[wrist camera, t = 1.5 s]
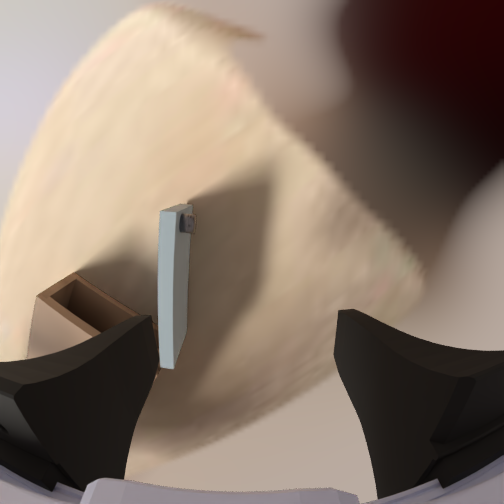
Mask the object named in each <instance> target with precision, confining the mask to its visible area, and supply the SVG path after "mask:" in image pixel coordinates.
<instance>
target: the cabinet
mask: <svg viewBox="0 0 504 504" xmlns="http://www.w3.org/2000/svg"><path fill="white" fill-rule="evenodd" d="M136 315H139V314H138V313H136V312H134V311H133V310H131V309H129V308H128V307H126V306H124V305H123V304H121V303H120V302H118V301H116V300H115V299H113V298H112V297H110V296H109V295H107V294H106V293H104V292H102V291H101V290H99V289H98V288H96V287H95V286H93V285H92V284H90V283H89V282H87V281H86V280H85V279H83V278H82V277H80V276H79V275H77V274H76V273H72V274H70V275H69V276H67V277H65V278H64V279H62V280H60V281H59V282H57V283H56V284H54V285H52V286H51V287H49V288H48V289H46V290H45V291H43V292H41V293H40V294H38V295H37V296H36V300H35V305H34V311H33V317H32V323H31V329H30V337H29V345H28V354H27V359H31V358H36V357H40V356H44V355H48V354H52V353H55V352H59V351H62V350H64V349H67V348H70V347H72V346H75V345H77V344H80V343H82V342H84V341H86V340H88V339H90V338H92V337H94V336H96V335H98V334H100V333H102V332H104V331H106V330H108V329H110V328H112V327H113V326H115V325H117V324H119V323H121V322H123V321H125V320H127V319H129V318H131V317H133V316H136ZM152 324H153V329H154V334H155V339H156V344H157V349H158V353H159V331H158V325H156V324H155V323H153V322H152ZM159 358H160V353H159ZM160 368H161V367H160V360H159V364H158V368H157V372H156V376H155V379H156V377H157V376H158V373H159V371H160ZM155 379H154V381H155ZM153 383H154V382H153ZM152 385H153V384H152Z"/></svg>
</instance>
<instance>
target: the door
mask: <svg viewBox="0 0 504 504" xmlns="http://www.w3.org/2000/svg"><path fill="white" fill-rule="evenodd" d="M192 211H193V205H189V204H179V205H176V206H173V207H170V208H167V209H164V210H162V211H160V222H159V244H158V331H159V353H160V367H162V368H168V369H174V367H175V364H176V361H177V358H178V356H179V353H180V350H181V347H182V344H183V341H184V338H185V336H186V333H187V304H188V276H189V256H190V239H191V234H194V233H195V229H196V214H192Z"/></svg>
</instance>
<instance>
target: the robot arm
mask: <svg viewBox="0 0 504 504" xmlns="http://www.w3.org/2000/svg"><path fill="white" fill-rule="evenodd" d="M334 358H335V362H336V365H337V369H338V372H339V375H340V377H341V380H342V382H343V384H344V386H345V388H346V390H347V393H348V395H349V397H350V399H351V401H352V404H353V406H354V408H355V410H356V412H357V414H358V417H359V419H360V422H361V425H362V428H363V432H364V435H365V439H366V442H367V446H368V450H369V454H370V458H371V463H372V468H373V473H374V478H375V483H376V489H377V497H378V500H375V501H371V502H367V503H363V504H504V351H480V350H467V349H461V348H455V347H450V346H444V345H440V344H436V343H432V342H429V341H426V340H423V339H419V338H416V337H414V336H411V335H409V334H406V333H404V332H402V331H399V330H397V329H395V328H393V327H391V326H389V325H386V324H384V323H382V322H380V321H378V320H376V319H374V318H372V317H370V316H368V315H366V314H364V313H362V312H360V311H357V310H355V309H348V310H338V320H337V329H336V338H335V347H334ZM159 360H160V358H159V353H158V349H157V344H156V339H155V334H154V329H153V324H152V318H151V316H145V315H136V316H133V317H131V318H129V319H127V320H125V321H123V322H121V323H119V324H117V325H115V326H113V327H112V328H110V329H108V330H106V331H104V332H102V333H100V334H98V335H96V336H94V337H92V338H90V339H88V340H86V341H84V342H82V343H80V344H77V345H75V346H72V347H70V348H67V349H64V350H62V351H59V352H55V353H52V354H48V355H44V356H40V357H36V358H31V359H26V360H19V361H11V362H0V504H360V503H359V500H358V497H357V495H354V494H351V493H347V492H344V491H340V490H337V489H333V488H309V489H289V490H278V491H254V492H226V491H224V492H223V491H205V490H192V489H182V488H173V487H166V486H159V485H153V484H147V483H142V482H136V481H132V480H124V475H125V469H126V463H127V458H128V453H129V448H130V444H131V440H132V436H133V432H134V428H135V426H136V423H137V420H138V417H139V415H140V413H141V410H142V408H143V406H144V403H145V401H146V399H147V396H148V394H149V391H150V389H151V387H152V384H153V382H154V379H155V376H156V372H157V368H158V364H159Z"/></svg>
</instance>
